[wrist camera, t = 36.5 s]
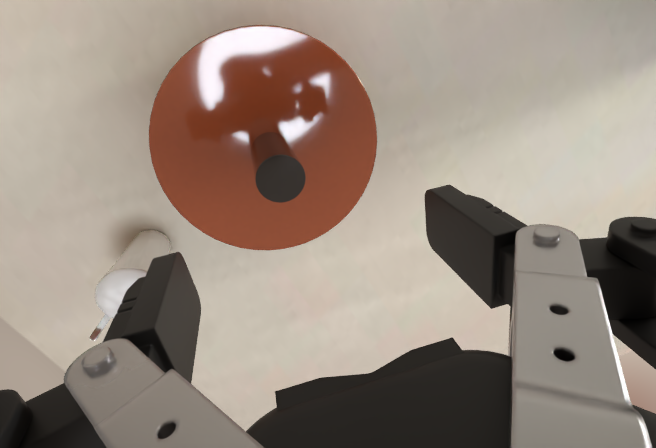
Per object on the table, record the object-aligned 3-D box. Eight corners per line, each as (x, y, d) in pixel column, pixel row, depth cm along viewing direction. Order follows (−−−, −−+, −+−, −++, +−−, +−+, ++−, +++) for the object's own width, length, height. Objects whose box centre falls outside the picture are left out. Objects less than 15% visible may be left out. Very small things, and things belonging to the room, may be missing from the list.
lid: (179, -18, 19) (154, -49, 13) (403, 77, 24) (459, 86, 18) (134, 217, 24) (101, 273, 18) (330, 259, 28) (356, 314, 22)
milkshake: (106, 250, 34) (61, 322, 25) (149, 212, 33) (118, 272, 24) (148, 280, 36) (119, 356, 27) (189, 245, 35) (173, 311, 26)
